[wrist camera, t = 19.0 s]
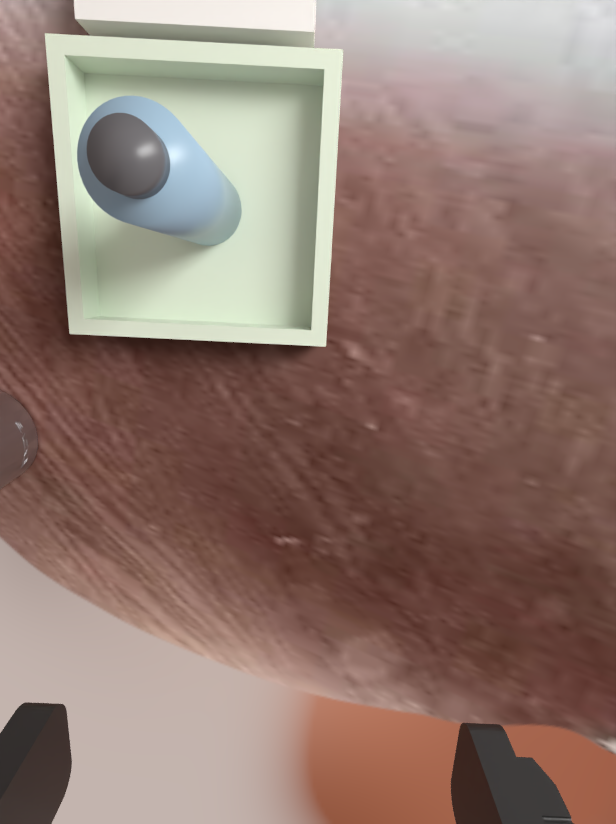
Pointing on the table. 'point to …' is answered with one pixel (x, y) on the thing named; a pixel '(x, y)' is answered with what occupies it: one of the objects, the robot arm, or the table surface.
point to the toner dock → (202, 20)
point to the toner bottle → (155, 173)
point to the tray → (238, 160)
